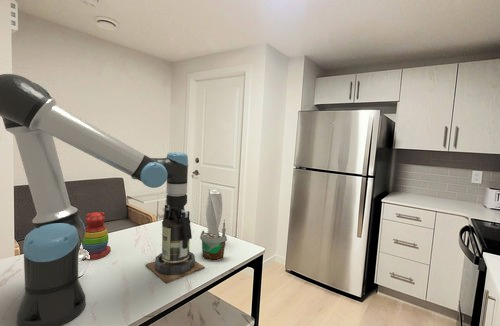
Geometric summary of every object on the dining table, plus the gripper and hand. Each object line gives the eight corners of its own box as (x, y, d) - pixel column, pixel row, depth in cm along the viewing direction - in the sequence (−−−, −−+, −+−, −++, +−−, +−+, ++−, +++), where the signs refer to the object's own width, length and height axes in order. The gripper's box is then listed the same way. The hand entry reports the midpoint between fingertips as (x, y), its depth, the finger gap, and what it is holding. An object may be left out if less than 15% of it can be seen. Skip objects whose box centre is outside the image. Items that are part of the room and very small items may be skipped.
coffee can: (193, 253, 104) (194, 218, 103) (182, 265, 94) (182, 227, 93) (170, 249, 106) (170, 215, 105) (156, 261, 96) (156, 223, 95)
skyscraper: (214, 251, 117) (216, 189, 114) (200, 246, 121) (202, 187, 119) (225, 245, 124) (228, 187, 122) (212, 241, 128) (214, 184, 126)
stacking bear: (110, 248, 115) (110, 208, 113) (110, 257, 106) (110, 214, 104) (81, 251, 110) (81, 210, 108) (78, 262, 101) (77, 217, 99)
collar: (167, 279, 90) (167, 271, 90) (148, 264, 100) (148, 256, 100) (201, 266, 101) (202, 259, 100) (181, 253, 111) (181, 246, 110)
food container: (193, 257, 110) (194, 234, 109) (202, 251, 115) (202, 229, 114) (218, 264, 105) (219, 240, 104) (226, 258, 110) (227, 235, 109)
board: (166, 283, 89) (166, 281, 89) (145, 266, 100) (145, 264, 100) (204, 268, 101) (204, 266, 101) (182, 254, 112) (182, 252, 112)
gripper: (203, 198, 93) (201, 258, 95) (170, 187, 108) (169, 239, 111) (184, 201, 87) (183, 265, 90) (153, 189, 103) (152, 244, 105)
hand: (175, 251), depth 100 cm, fingers closed on coffee can, 10 cm apart
